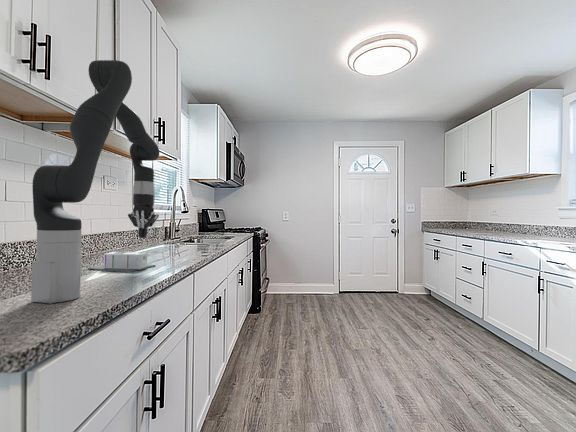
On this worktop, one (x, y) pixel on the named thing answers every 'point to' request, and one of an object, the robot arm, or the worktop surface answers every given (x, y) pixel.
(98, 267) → the mat
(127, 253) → the syrup box
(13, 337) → the worktop surface
